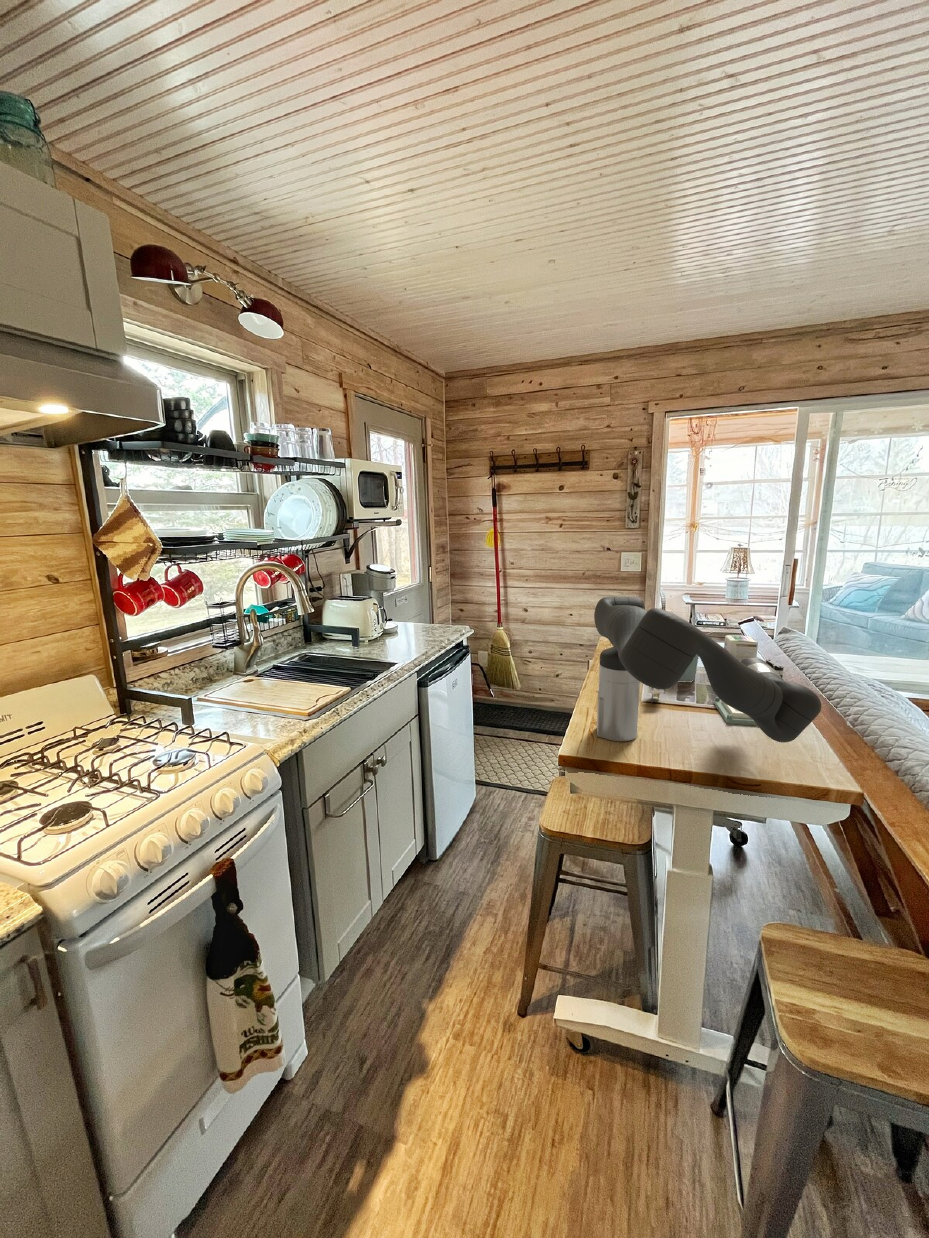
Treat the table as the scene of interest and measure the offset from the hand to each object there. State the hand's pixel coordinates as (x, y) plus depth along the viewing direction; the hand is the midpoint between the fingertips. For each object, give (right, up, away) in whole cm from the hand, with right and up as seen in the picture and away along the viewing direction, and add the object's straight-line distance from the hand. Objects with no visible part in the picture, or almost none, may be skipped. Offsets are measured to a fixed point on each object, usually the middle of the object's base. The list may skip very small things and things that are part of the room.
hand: (735, 657), depth 122 cm
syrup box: (0, -10, 0) cm, 10 cm away
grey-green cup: (+5, -10, +43) cm, 44 cm away
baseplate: (+10, -16, +13) cm, 23 cm away
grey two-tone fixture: (-10, -15, +24) cm, 30 cm away
